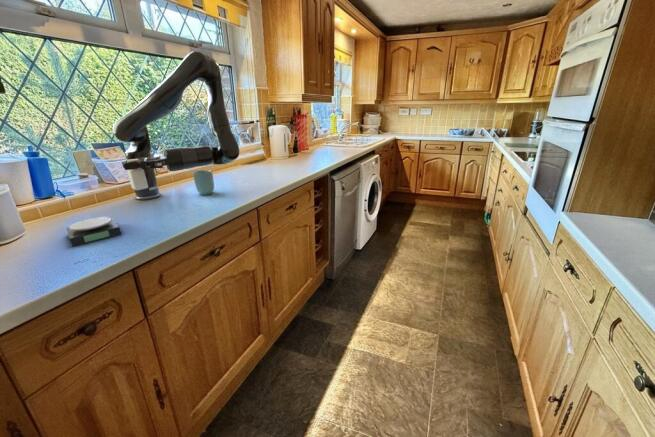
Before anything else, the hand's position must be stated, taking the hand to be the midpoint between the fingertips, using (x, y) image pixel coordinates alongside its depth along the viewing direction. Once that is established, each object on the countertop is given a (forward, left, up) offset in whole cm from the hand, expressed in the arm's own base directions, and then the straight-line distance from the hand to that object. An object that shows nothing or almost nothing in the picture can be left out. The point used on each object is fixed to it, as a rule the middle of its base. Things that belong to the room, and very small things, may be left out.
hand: (123, 165), depth 95 cm
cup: (-21, +32, -20) cm, 43 cm away
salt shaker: (0, +3, -8) cm, 9 cm away
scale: (0, -12, -20) cm, 23 cm away
